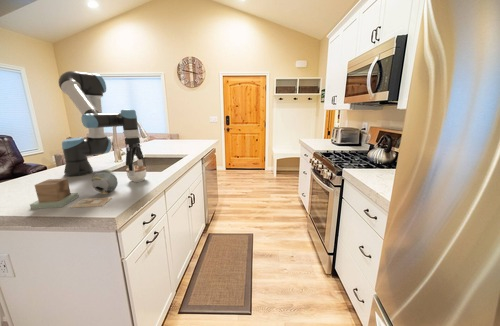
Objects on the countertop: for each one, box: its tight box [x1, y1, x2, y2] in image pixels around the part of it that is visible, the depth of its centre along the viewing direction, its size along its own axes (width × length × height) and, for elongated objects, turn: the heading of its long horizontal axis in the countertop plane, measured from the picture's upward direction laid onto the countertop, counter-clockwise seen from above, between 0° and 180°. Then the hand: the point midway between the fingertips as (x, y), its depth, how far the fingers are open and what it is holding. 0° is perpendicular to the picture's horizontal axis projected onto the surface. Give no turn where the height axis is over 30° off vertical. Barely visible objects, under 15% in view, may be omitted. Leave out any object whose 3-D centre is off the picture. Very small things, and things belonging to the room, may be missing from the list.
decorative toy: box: [91, 172, 119, 195], centre depth 109 cm, size 12×10×20 cm
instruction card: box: [69, 196, 113, 209], centre depth 99 cm, size 9×13×1 cm
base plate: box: [29, 192, 79, 210], centre depth 100 cm, size 12×12×2 cm
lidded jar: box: [125, 164, 147, 183], centre depth 129 cm, size 11×11×9 cm
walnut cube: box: [34, 178, 72, 202], centre depth 99 cm, size 8×8×8 cm
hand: (137, 172), depth 129 cm, fingers open, 13 cm apart
